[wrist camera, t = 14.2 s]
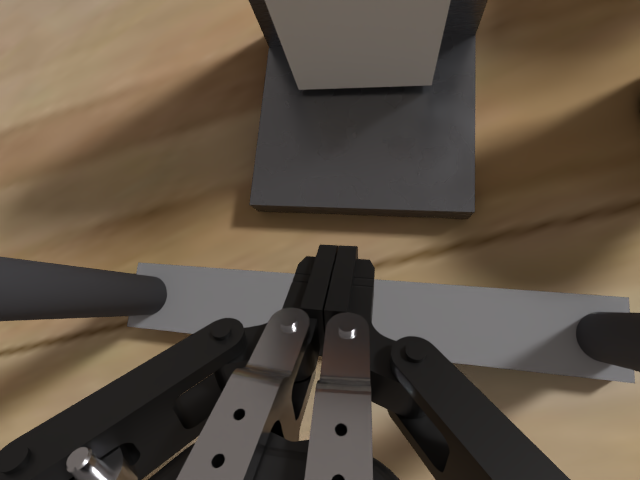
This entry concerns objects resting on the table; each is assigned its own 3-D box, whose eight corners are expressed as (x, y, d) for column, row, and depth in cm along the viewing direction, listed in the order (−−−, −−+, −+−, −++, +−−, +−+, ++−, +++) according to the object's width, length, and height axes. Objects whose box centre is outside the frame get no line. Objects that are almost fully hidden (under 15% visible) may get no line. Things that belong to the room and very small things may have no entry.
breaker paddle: (431, 85, 20) (457, -29, 13) (298, 89, 21) (260, -11, 15) (432, 40, 20) (458, -92, 14) (303, 47, 22) (268, -68, 15)
